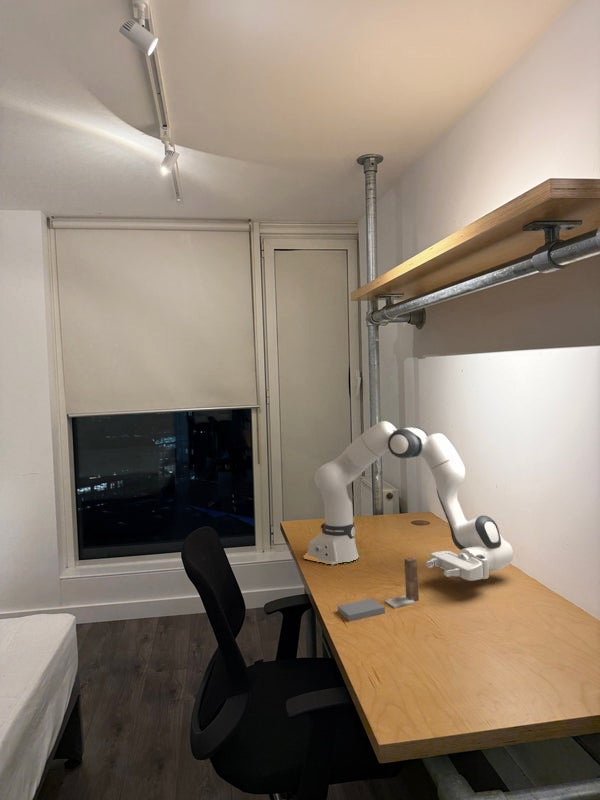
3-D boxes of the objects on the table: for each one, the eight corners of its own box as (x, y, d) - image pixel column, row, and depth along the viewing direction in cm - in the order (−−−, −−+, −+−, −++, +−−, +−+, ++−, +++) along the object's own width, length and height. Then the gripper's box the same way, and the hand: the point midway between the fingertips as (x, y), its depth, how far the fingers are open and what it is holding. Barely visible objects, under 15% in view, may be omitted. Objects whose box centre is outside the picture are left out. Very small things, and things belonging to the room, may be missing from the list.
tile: (371, 598, 178) (337, 605, 174) (384, 607, 171) (349, 615, 166) (372, 604, 178) (337, 612, 174) (385, 614, 171) (349, 622, 166)
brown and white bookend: (411, 595, 183) (409, 556, 182) (421, 601, 177) (419, 560, 177) (384, 601, 179) (382, 561, 178) (394, 608, 174) (392, 566, 173)
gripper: (450, 544, 197) (416, 551, 192) (490, 560, 178) (455, 568, 173) (451, 562, 197) (417, 569, 192) (491, 580, 178) (456, 588, 173)
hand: (435, 569), depth 182 cm, fingers open, 8 cm apart
